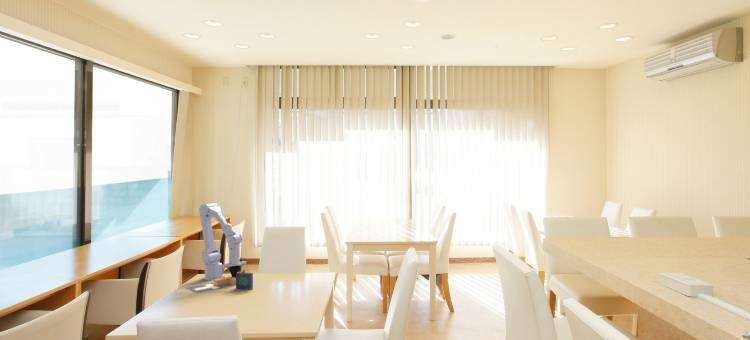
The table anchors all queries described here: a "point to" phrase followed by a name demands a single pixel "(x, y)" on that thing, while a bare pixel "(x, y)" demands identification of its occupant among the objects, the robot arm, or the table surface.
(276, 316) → the table surface
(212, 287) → the mat
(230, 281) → the t block
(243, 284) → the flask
